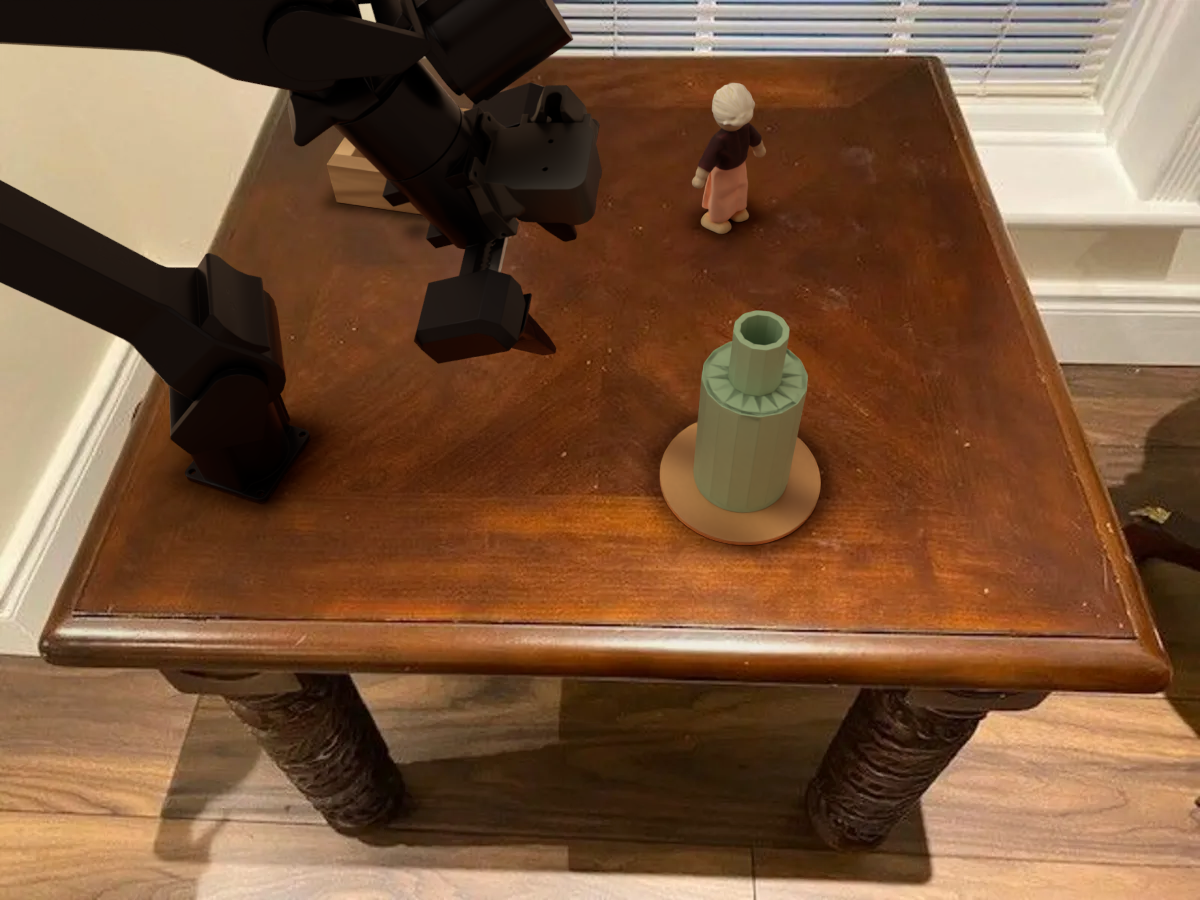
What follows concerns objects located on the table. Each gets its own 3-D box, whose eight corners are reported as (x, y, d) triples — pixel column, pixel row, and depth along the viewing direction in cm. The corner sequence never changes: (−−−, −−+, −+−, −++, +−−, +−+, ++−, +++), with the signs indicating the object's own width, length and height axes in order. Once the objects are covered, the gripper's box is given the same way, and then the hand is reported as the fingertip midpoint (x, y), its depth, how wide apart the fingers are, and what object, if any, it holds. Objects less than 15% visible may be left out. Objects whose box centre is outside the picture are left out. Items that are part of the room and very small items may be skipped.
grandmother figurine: (728, 189, 91) (741, 57, 81) (765, 206, 89) (782, 74, 79) (676, 234, 87) (683, 102, 77) (713, 253, 86) (725, 120, 76)
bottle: (688, 506, 69) (700, 363, 58) (699, 433, 73) (712, 286, 62) (784, 518, 69) (814, 376, 58) (790, 444, 73) (819, 297, 62)
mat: (798, 565, 67) (799, 562, 67) (637, 517, 69) (637, 514, 69) (835, 441, 73) (836, 437, 73) (687, 401, 76) (687, 397, 75)
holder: (448, 218, 89) (442, 180, 86) (336, 202, 91) (326, 164, 88) (485, 147, 95) (480, 109, 92) (379, 133, 97) (371, 96, 94)
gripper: (509, 247, 50) (652, 400, 62) (567, -24, 58) (683, 158, 70) (337, 287, 55) (498, 421, 67) (412, 34, 63) (544, 194, 75)
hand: (561, 294), depth 69 cm, fingers open, 9 cm apart
